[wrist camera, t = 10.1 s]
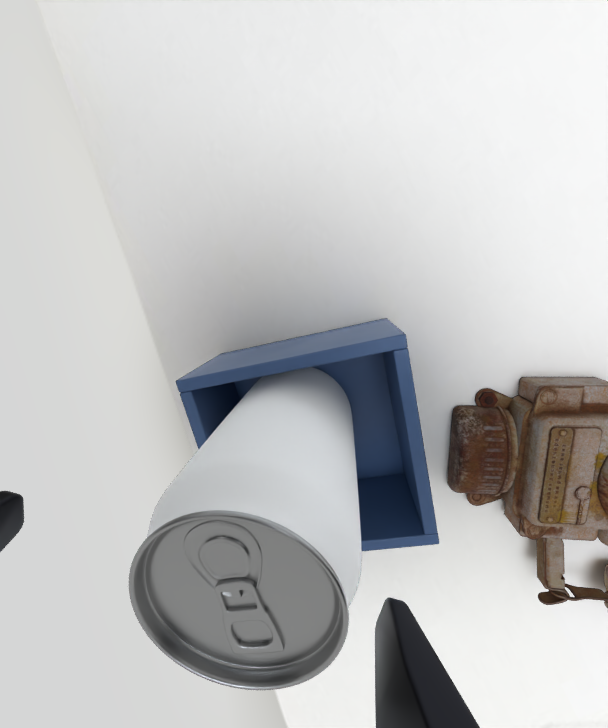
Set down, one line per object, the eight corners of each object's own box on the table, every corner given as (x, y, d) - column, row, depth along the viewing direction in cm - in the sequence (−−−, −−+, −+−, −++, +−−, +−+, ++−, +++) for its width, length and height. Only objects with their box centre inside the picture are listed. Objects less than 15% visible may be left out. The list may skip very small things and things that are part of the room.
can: (338, 351, 18) (330, 476, 6) (362, 450, 19) (392, 698, 8) (234, 375, 19) (70, 518, 8) (264, 467, 21) (165, 706, 9)
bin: (220, 353, 19) (174, 381, 14) (386, 317, 18) (405, 333, 12) (262, 494, 22) (237, 563, 16) (413, 475, 20) (439, 544, 15)
